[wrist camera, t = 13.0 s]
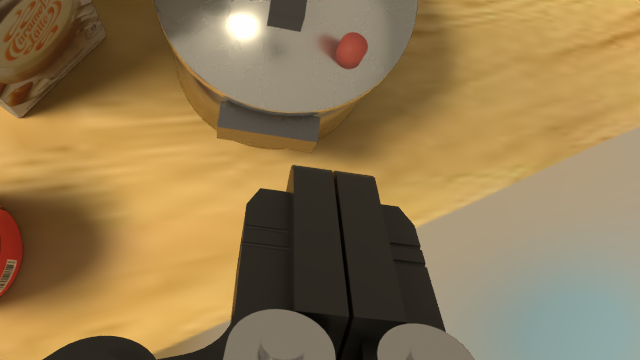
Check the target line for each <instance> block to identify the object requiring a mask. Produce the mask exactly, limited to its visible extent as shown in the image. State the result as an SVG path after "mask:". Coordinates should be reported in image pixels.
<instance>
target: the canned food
mask: <svg viewBox="0 0 640 360" xmlns="http://www.w3.org/2000/svg"><path fill="white" fill-rule="evenodd" d="M22 257H23V244H22V239H21V234H20V231H19V229H18V226H17V224H16V222H15V220H14V219H13V218H12V216H11V215H10V213H9V212H7V211H6V210H5V209H4V208H3V207H2V206H1V205H0V297H1V296H2V295H3V293H4V292H5V291H6V290H7V289H8V288H9V287H10V285H11V284H12V282H13V281H14V279H15V278H16V276H17V273H18V271H19V269H20V266H21V261H22Z"/></svg>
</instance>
